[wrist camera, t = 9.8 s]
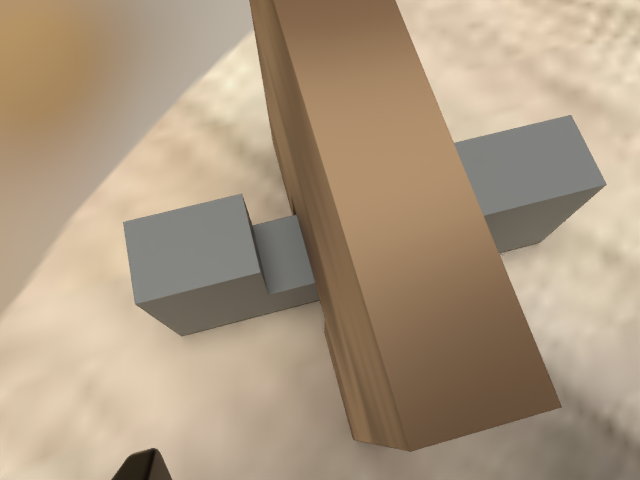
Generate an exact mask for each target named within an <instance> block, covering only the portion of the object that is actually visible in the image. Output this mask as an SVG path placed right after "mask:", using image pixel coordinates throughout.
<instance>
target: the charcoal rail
mask: <svg viewBox="0 0 640 480" xmlns="http://www.w3.org/2000/svg"><path fill="white" fill-rule="evenodd" d="M454 145H455V147H456V150H457V152H458V155H459V157H460V160H461V162H462V164H463V167H464V169H465V172H466V174H467V177H468V179H469V182H470V184H471V186H472V189H473V191H474V194H475V196H476V199H477V201H478V204H479V206H480V208H481V211H482V213H483V216H484V218H485V221H486V223H487V226H488V228H489V230H490V233H491V235H492V238H493V240H494V243H495V245H496V247H497V250H498V252H499V253H502V252H506V251H510V250H513V249H517V248H521V247H525V246H529V245H533V244H536V243H540V242H541V241H542V240H543V239H545V238H546V237H547V236H548V235H549V234H550V233H552V232H553V231H554V230H555V229H556V228H557V227H558V226H560V225H561V224H562V223H563V222H564V221H565V220H566V219H568V218H569V217H570V216H571V215H572V214H573V213H575V212H576V211H577V210H578V209H579V208H580V207H581V206H583V205H584V204H585V203H586V202H587V201H588V200H589V199H591V198H592V197H593V196H594V195H595V194H596V193H597V192H599V191H600V190H601V189H602V188H603V187H604V186H606V185H607V184H606V182H605V180H604V178H603V176H602V174H601V172H600V171H599V169H598V167H597V165H596V163H595V161H594V159H593V157H592V155H591V153H590V151H589V149H588V147H587V145H586V143H585V141H584V139H583V137H582V135H581V133H580V131H579V129H578V127H577V125H576V124H575V122H574V120H573V118H572V116H571V115H569V116H565V117H560V118H556V119H552V120H548V121H544V122H540V123H535V124H531V125H527V126H523V127H519V128H514V129H510V130H506V131H502V132H498V133H494V134H489V135H485V136H481V137H477V138H473V139H469V140H464V141H460V142H456V143H454ZM123 225H124V231H125V238H126V245H127V252H128V259H129V266H130V273H131V280H132V287H133V294H134V300H135V304H136V305H137V306H138V307H140V308H141V309H143V310H144V311H146V312H147V313H149V314H150V315H151V316H153V317H154V318H156V319H157V320H159V321H160V322H162V323H163V324H164V325H166V326H167V327H169V328H170V329H172V330H173V331H175V332H176V333H177V334H179V335H180V336H184V335H188V334H192V333H196V332H200V331H203V330H207V329H211V328H215V327H219V326H223V325H226V324H230V323H234V322H238V321H242V320H245V319H249V318H253V317H257V316H261V315H265V314H268V313H272V312H276V311H280V310H284V309H288V308H291V307H295V306H299V305H303V304H307V303H311V302H314V301H318V300H320V299H319V295H318V291H317V288H316V284H315V280H314V277H313V273H312V269H311V266H310V262H309V258H308V255H307V251H306V247H305V244H304V240H303V236H302V233H301V229H300V225H299V222H298V218H297V215H293V216H289V217H285V218H281V219H277V220H273V221H269V222H265V223H261V224H257V225H253V226H252V223H251V220H250V217H249V214H248V211H247V208H246V205H245V202H244V199H243V196H242V194H239V195H234V196H230V197H226V198H222V199H218V200H214V201H209V202H205V203H201V204H197V205H193V206H188V207H184V208H180V209H176V210H172V211H168V212H163V213H159V214H155V215H151V216H147V217H143V218H138V219H134V220H130V221H126V222H123Z"/></svg>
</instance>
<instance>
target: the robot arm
mask: <svg viewBox="0 0 640 480" xmlns="http://www.w3.org/2000/svg"><path fill="white" fill-rule="evenodd" d="M112 480H172V478H171V476H170V474H169V471H168V469H167V467H166V464H165V462H164V460H163V458H162V455H161V453H160V452H159V451H158V450H157V449H155V448H151V449H147V450H144V451H140V452H137V453H133V454H131V455H130V456H129V457H128V458H127V459H126V460H125V462H124V463H123V464H122V466H121V467H120V469H119V470H118V471H117V473H116V474H115V475H114V477H113V478H112Z"/></svg>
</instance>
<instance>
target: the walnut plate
mask: <svg viewBox="0 0 640 480" xmlns="http://www.w3.org/2000/svg"><path fill="white" fill-rule="evenodd" d="M249 1H250V7H251V13H252V19H253V25H254V31H255V37H256V43H257V49H258V55H259V61H260V67H261V73H262V79H263V86H264V92H265V98H266V104H267V110H268V116H269V122H270V128H271V134H272V140H273V144H274V148H275V152H276V155H277V159H278V163H279V166H280V170H281V174H282V178H283V181H284V185H285V189H286V192H287V196H288V200H289V203H290V207H291V211H292V215H297V218H298V222H299V225H300V229H301V233H302V236H303V240H304V244H305V247H306V251H307V255H308V258H309V262H310V266H311V269H312V273H313V277H314V280H315V284H316V288H317V291H318V295H319V299H320V302H321V306H322V310H323V313H324V317H325V332H324V333H325V337H326V340H327V344H328V348H329V351H330V355H331V359H332V363H333V366H334V370H335V374H336V377H337V381H338V385H339V388H340V392H341V396H342V400H343V403H344V407H345V411H346V414H347V418H348V422H349V425H350V429H351V433H352V437H353V440H357V441H362V442H367V443H372V444H377V445H381V446H386V447H391V448H396V449H400V450H405V451H410V452H411V451H414V450H418V449H421V448H424V447H428V446H431V445H435V444H438V443H441V442H445V441H448V440H452V439H455V438H458V437H462V436H465V435H469V434H472V433H476V432H479V431H482V430H486V429H489V428H493V427H496V426H499V425H503V424H506V423H510V422H513V421H517V420H520V419H523V418H527V417H530V416H534V415H537V414H540V413H544V412H547V411H551V410H554V409H557V408H561V407H562V406H561V404H560V401H559V399H558V396H557V394H556V391H555V389H554V387H553V384H552V382H551V379H550V377H549V374H548V372H547V370H546V367H545V365H544V362H543V360H542V357H541V355H540V352H539V350H538V348H537V345H536V343H535V340H534V338H533V335H532V333H531V330H530V328H529V326H528V323H527V321H526V318H525V316H524V313H523V311H522V309H521V306H520V304H519V301H518V299H517V296H516V294H515V291H514V289H513V287H512V284H511V282H510V279H509V277H508V274H507V272H506V269H505V267H504V265H503V262H502V260H501V257H500V255H499V252H498V250H497V247H496V245H495V243H494V240H493V238H492V235H491V233H490V230H489V228H488V226H487V223H486V221H485V218H484V216H483V213H482V211H481V208H480V206H479V204H478V201H477V199H476V196H475V194H474V191H473V189H472V186H471V184H470V182H469V179H468V177H467V174H466V172H465V169H464V167H463V164H462V162H461V160H460V157H459V155H458V152H457V150H456V147H455V145H454V143H453V140H452V138H451V135H450V133H449V130H448V128H447V125H446V123H445V121H444V118H443V116H442V113H441V111H440V108H439V106H438V103H437V101H436V99H435V96H434V94H433V91H432V89H431V86H430V84H429V82H428V79H427V77H426V74H425V72H424V69H423V67H422V64H421V62H420V60H419V57H418V55H417V52H416V50H415V47H414V45H413V42H412V40H411V38H410V35H409V33H408V30H407V28H406V25H405V23H404V20H403V18H402V16H401V13H400V11H399V8H398V6H397V3H396V1H395V0H249Z"/></svg>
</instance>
